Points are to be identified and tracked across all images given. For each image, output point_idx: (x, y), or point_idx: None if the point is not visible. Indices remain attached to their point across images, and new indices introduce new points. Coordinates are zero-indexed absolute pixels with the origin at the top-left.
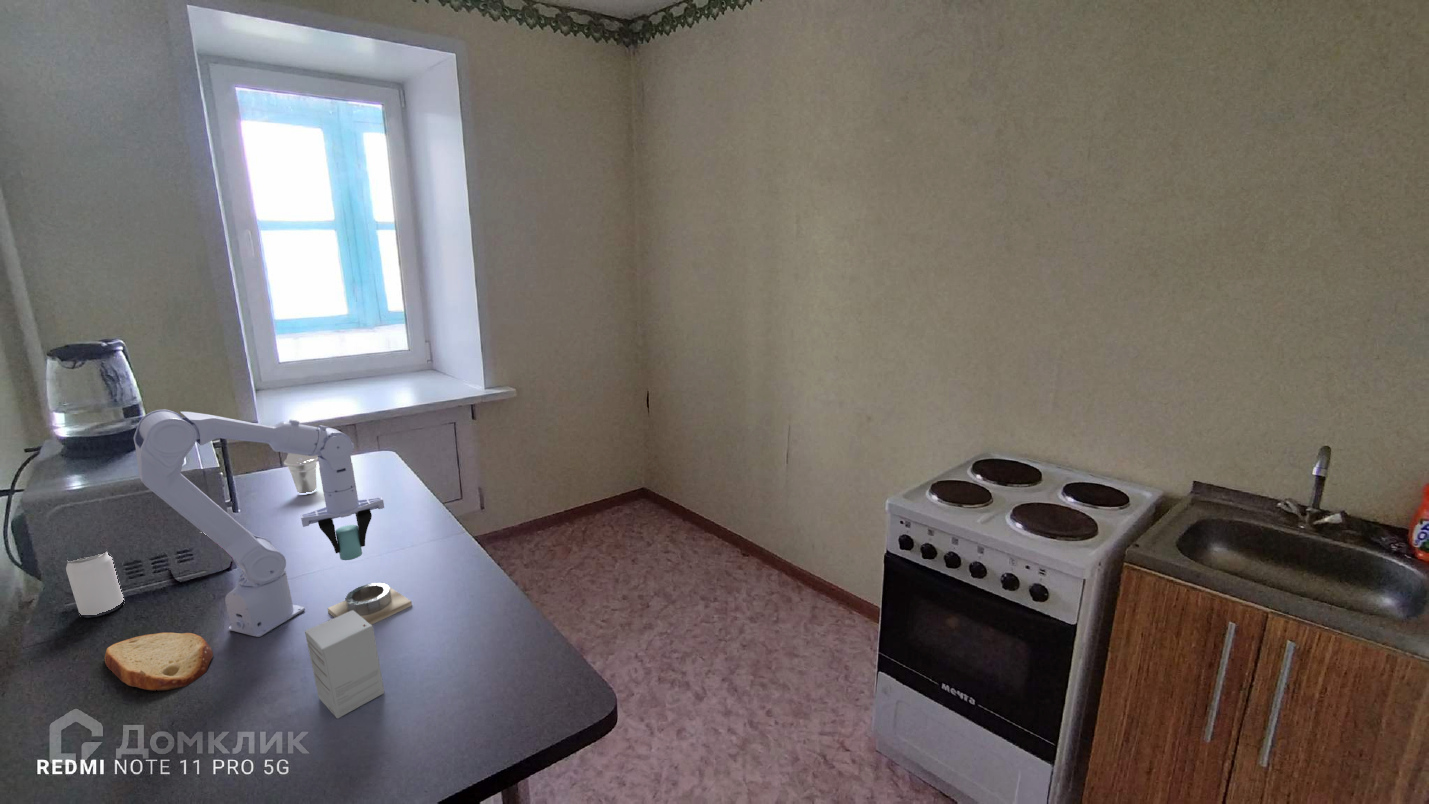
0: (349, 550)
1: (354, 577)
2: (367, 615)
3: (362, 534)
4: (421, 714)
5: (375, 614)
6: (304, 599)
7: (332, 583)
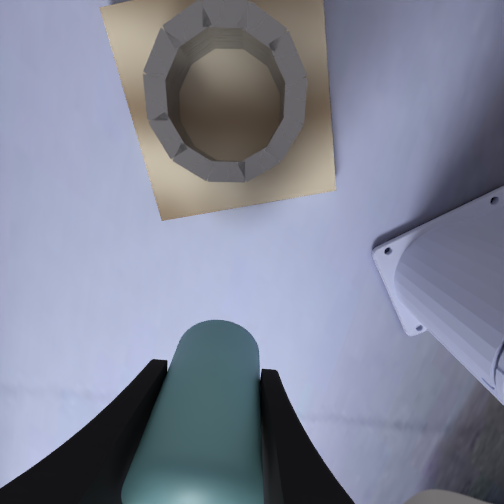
0: (222, 352)
1: None
2: None
3: (123, 412)
4: None
5: None
6: (351, 306)
7: (275, 339)
